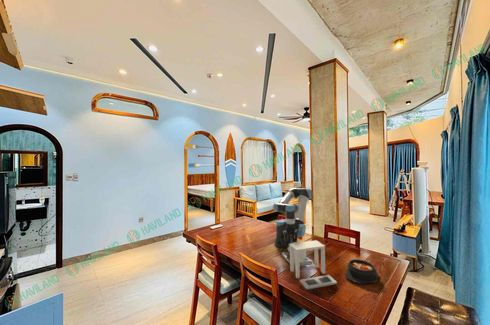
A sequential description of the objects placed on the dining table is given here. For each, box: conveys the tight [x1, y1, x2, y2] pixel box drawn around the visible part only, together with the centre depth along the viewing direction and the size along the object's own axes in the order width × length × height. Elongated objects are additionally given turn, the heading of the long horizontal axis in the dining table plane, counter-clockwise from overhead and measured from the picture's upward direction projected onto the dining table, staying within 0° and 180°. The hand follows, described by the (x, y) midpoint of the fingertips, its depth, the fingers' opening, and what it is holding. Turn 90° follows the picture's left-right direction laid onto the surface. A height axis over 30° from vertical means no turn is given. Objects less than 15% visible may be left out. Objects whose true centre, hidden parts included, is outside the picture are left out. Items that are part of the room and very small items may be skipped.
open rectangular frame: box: [289, 240, 338, 290], centre depth 134 cm, size 22×22×20 cm
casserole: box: [344, 259, 379, 285], centre depth 133 cm, size 25×19×8 cm
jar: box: [294, 241, 307, 263], centre depth 151 cm, size 11×10×15 cm
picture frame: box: [281, 235, 313, 268], centre depth 156 cm, size 21×16×15 cm
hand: (290, 250), depth 165 cm, fingers closed on picture frame, 3 cm apart
